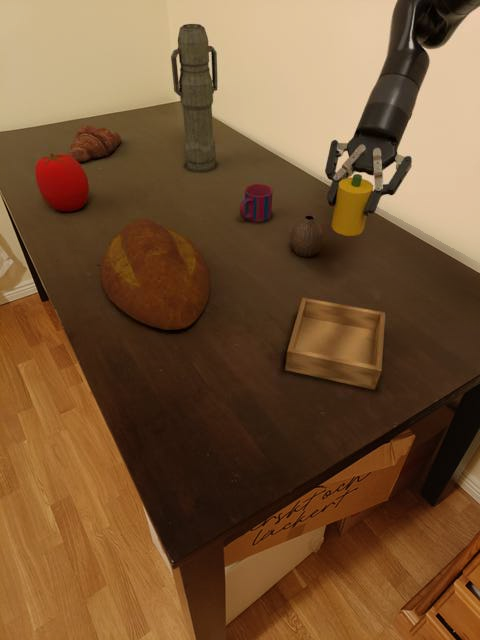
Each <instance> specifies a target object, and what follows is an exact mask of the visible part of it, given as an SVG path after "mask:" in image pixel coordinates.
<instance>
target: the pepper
mask: <svg viewBox="0 0 480 640" xmlns="http://www.w3.org/2000/svg"><path fill="white" fill-rule="evenodd" d="M372 191H374V185H373V183H372V182H371V181H369V180H367V179H365V178H363V175H362V174H360V173H354V174H353V175H352V177H348V178H345V179H342V180H341V181H340V182H339V185H338V191H337V196H336V202H335V205H334V207H333V208H334V209H333V215H332V221H331V229H332V230H333V231H334V232H335V233H337V234H338V235H342V236H347V237H353V236H354V237H355V236H358V235H360V234H362V233H363V232H364V229H365V225H366V221H367V217H368V216H365V215H364V209H365V207H366V204H367V202H368V199H369V197H370V194H371V192H372Z"/></svg>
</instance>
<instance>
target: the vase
mask: <svg viewBox="0 0 480 640" xmlns="http://www.w3.org/2000/svg"><path fill="white" fill-rule="evenodd" d="M323 241H324V233H323V228H322V226H321V225H320V223H319V222H318V221H317V219H316V216H315V215H313V214H305V215H303V217H302V218H301V220H300V221H298V222H297V223H296V224H295V225H294V226H293V229H292V231H291V236H290V244H291V248H292V250H293V251H294V253H296V254H297V255H298V256H300V257H302V258H303V257H304V258H309V257H312V256H314V255H315V254H317V253H319V251H320V249H321V247H322V245H323Z"/></svg>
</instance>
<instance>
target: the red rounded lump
mask: <svg viewBox="0 0 480 640" xmlns="http://www.w3.org/2000/svg"><path fill="white" fill-rule="evenodd" d="M68 154H69V153H68ZM68 154H67V153H63V152H61V153H53V152H52V153H50V154H49V155H45V156H42V157H40V158H39V160H38V161H37V162H36V164H35V167H34V169H35V171H34V174H35V180H36V184H37V187H38V190H39V192H40V194H41V196H42V198H43V199H44V201H45V202H47V204H48V205H49V206H50V207H51V208H53V209H55V210H57V211H60V212H67V213H69V212H75V211H78V210H80V209H82V208H83V207H84V206H85V205H86V203H87V201H88V198H89V193H90V192H89V191H90V185H89V184H90V183H89V179H88V176H87V173H86V172H85V170H84V168H83V167H82V165H81V164H80V162H78V161H77V160H76V159H75V158H73V157H71V156H70V155H68Z"/></svg>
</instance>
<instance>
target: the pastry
mask: <svg viewBox="0 0 480 640" xmlns="http://www.w3.org/2000/svg"><path fill="white" fill-rule="evenodd" d="M121 142H122V137H121V135H120V134H119V133H118V132H117V131H112V130H109V129H108V128H106V127H100V128H96V127H93V126H91V125H83V126H81V127H79V128H78V129H77V132H76V135H75V136H74V140H73V141H72V142H71V144H70V150H69V151H68V155H70V156H71V157H73V158H75V159H76V160H77V161H78V163H85V162H89V161H92V160H98V159H101V158H105V157H108V156H110V154H112V153H114V152H115V149H116V148H117V147H118V146H120V144H121Z"/></svg>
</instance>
